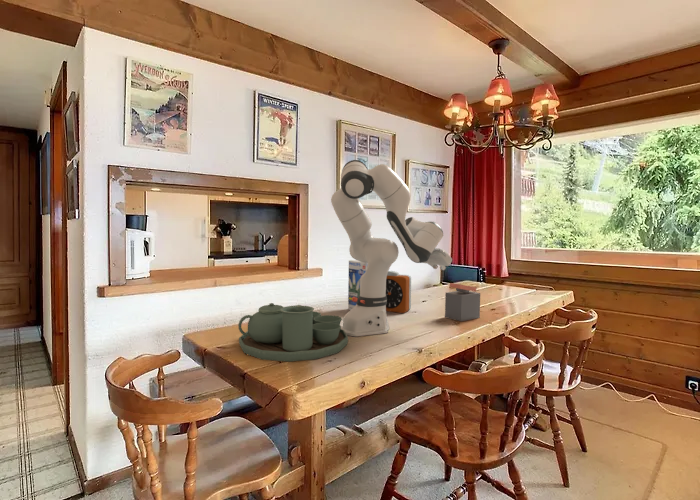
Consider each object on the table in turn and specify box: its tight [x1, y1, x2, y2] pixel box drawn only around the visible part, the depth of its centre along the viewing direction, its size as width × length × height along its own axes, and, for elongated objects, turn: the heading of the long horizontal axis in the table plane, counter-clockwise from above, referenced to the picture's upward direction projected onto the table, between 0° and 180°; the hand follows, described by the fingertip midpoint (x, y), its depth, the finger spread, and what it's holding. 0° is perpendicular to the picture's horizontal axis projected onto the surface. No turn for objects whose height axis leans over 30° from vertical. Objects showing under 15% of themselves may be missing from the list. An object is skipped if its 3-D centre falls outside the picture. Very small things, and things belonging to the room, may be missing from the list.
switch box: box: [444, 290, 481, 322], centre depth 197 cm, size 13×10×12 cm
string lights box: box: [347, 259, 368, 311], centre depth 210 cm, size 13×8×26 cm, turn 42°
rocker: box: [449, 282, 477, 293], centre depth 196 cm, size 11×7×4 cm, turn 124°
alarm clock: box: [386, 270, 412, 314], centre depth 212 cm, size 18×9×21 cm, turn 62°
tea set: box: [238, 302, 349, 362], centre depth 153 cm, size 40×40×16 cm
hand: (439, 268), depth 187 cm, fingers open, 3 cm apart
